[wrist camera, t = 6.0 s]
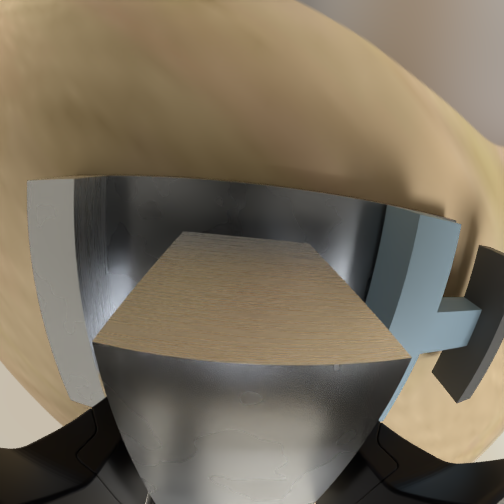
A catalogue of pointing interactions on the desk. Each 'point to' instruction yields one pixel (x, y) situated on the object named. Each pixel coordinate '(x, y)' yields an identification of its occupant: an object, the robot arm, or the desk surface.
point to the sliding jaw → (437, 300)
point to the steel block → (245, 372)
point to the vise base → (166, 245)
